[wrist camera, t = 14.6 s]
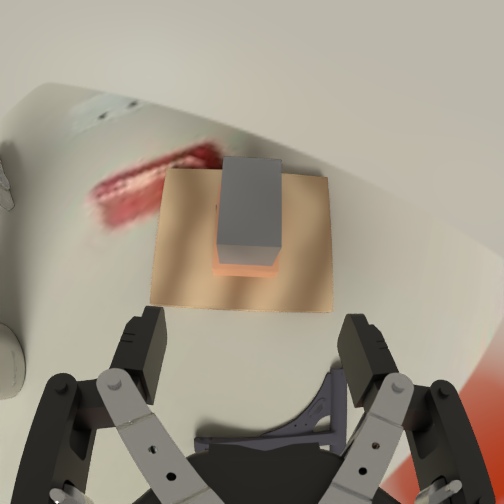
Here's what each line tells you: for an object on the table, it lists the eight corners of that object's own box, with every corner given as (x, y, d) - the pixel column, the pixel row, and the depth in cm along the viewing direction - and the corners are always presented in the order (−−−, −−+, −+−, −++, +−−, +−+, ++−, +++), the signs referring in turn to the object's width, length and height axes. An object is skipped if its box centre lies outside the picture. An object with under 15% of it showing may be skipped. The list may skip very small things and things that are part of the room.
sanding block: (213, 275, 28) (206, 250, 21) (219, 195, 31) (216, 150, 23) (274, 277, 29) (290, 255, 21) (275, 198, 31) (289, 154, 23)
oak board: (153, 305, 29) (149, 303, 27) (169, 175, 33) (166, 168, 31) (328, 312, 30) (333, 311, 28) (323, 184, 34) (327, 177, 32)
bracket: (193, 372, 28) (189, 376, 25) (343, 366, 29) (353, 369, 26) (200, 497, 24) (198, 509, 22) (340, 487, 25) (348, 498, 22)
